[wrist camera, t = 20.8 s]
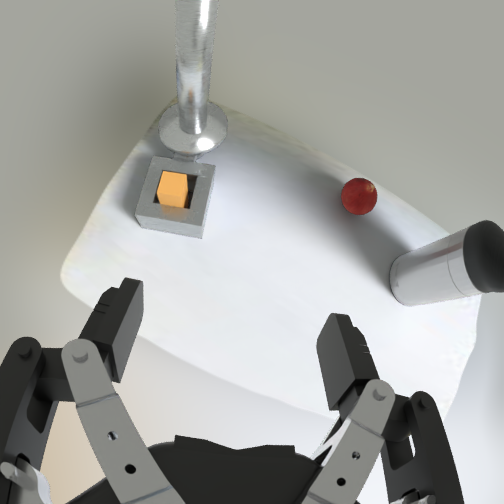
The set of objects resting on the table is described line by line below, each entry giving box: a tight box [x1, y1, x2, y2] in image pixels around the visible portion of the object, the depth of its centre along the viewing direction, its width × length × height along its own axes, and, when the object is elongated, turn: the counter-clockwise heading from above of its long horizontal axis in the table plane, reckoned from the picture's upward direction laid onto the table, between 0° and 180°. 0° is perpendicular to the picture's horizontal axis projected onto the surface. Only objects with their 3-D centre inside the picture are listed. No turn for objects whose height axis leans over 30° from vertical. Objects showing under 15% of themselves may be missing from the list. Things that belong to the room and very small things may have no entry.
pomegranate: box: [341, 178, 377, 215], centre depth 44 cm, size 6×6×8 cm
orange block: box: [157, 171, 189, 209], centre depth 38 cm, size 3×3×9 cm
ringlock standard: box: [134, 0, 228, 239], centre depth 29 cm, size 10×20×30 cm, turn 171°
